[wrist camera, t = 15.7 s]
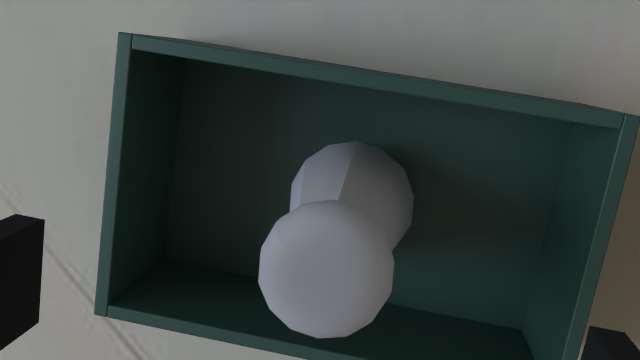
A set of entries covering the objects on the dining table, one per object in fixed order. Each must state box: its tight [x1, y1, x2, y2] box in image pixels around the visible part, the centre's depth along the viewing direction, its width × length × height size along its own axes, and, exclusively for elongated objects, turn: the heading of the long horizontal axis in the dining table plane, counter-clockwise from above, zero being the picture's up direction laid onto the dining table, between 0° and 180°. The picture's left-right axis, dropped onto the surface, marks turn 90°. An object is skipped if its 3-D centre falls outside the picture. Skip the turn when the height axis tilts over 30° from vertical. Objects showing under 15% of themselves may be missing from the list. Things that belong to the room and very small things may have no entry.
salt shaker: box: [258, 141, 414, 339], centre depth 25 cm, size 6×6×13 cm
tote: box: [94, 32, 640, 360], centre depth 28 cm, size 20×12×7 cm, turn 81°
